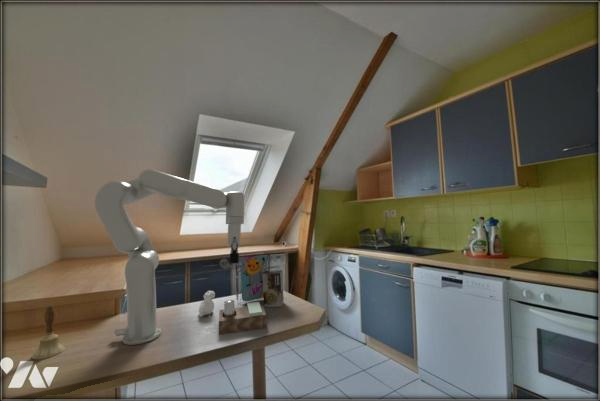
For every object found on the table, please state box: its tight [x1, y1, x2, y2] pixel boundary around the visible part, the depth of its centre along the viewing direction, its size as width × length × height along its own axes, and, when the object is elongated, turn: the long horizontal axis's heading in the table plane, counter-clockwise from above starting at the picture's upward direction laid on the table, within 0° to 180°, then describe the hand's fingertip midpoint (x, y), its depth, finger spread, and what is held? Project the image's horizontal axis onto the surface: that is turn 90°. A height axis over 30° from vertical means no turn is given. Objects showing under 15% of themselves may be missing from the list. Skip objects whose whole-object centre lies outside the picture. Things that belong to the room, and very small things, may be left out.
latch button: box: [246, 301, 262, 317], centre depth 109 cm, size 5×12×6 cm, turn 15°
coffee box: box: [262, 269, 285, 308], centre depth 130 cm, size 9×6×16 cm
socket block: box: [218, 304, 267, 335], centre depth 108 cm, size 18×12×5 cm, turn 105°
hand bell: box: [31, 305, 66, 361], centre depth 91 cm, size 8×8×16 cm
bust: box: [198, 290, 216, 318], centre depth 121 cm, size 12×8×11 cm
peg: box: [223, 299, 235, 317], centre depth 107 cm, size 4×4×10 cm
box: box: [219, 251, 272, 305], centre depth 133 cm, size 25×6×24 cm, turn 115°
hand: (234, 260), depth 112 cm, fingers open, 9 cm apart
